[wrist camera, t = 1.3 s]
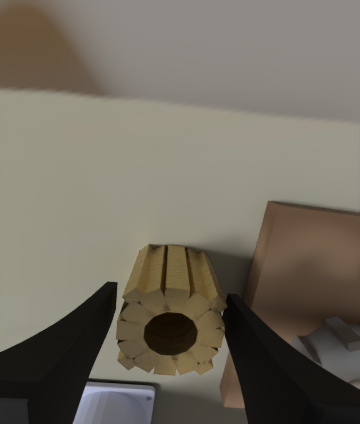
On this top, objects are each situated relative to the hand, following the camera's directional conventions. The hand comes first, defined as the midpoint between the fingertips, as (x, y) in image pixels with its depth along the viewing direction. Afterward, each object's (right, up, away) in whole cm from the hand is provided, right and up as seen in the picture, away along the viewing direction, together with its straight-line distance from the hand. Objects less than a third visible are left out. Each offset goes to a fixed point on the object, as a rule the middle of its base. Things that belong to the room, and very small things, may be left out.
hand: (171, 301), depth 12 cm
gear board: (+12, -3, +4) cm, 13 cm away
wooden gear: (0, +1, +3) cm, 3 cm away
